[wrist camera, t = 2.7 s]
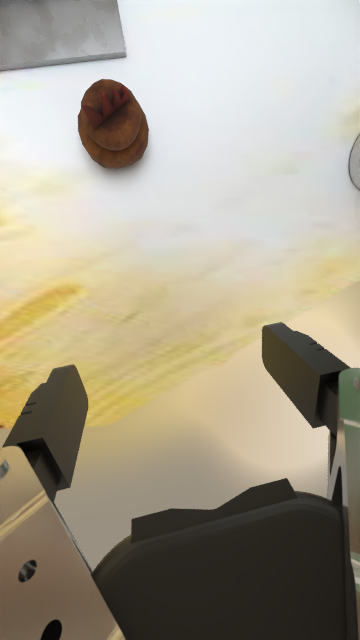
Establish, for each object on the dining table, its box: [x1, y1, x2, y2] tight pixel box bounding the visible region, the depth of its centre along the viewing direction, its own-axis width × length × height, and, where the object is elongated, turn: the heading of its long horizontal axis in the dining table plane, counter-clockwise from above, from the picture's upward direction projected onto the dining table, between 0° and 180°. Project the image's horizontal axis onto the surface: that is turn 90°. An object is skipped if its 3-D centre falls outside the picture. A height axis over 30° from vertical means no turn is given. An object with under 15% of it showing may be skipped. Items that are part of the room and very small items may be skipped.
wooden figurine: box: [78, 79, 149, 168], centre depth 23 cm, size 7×6×15 cm
